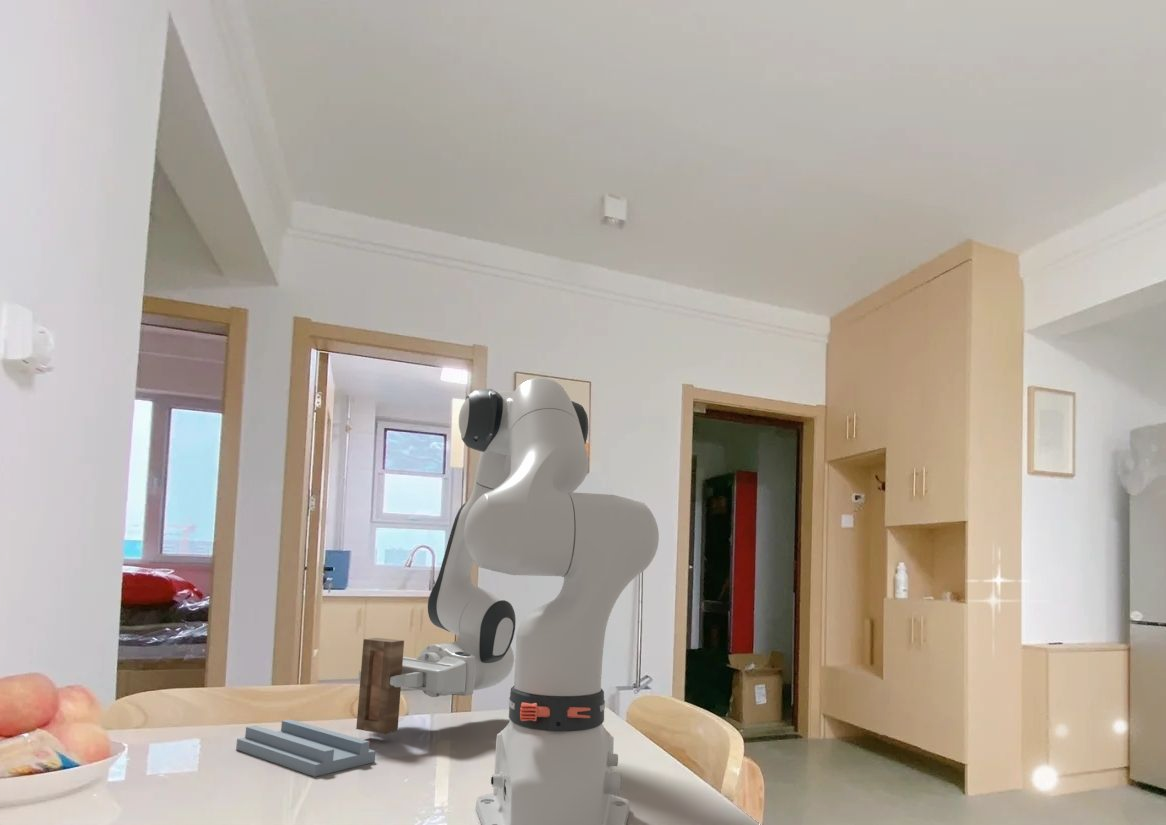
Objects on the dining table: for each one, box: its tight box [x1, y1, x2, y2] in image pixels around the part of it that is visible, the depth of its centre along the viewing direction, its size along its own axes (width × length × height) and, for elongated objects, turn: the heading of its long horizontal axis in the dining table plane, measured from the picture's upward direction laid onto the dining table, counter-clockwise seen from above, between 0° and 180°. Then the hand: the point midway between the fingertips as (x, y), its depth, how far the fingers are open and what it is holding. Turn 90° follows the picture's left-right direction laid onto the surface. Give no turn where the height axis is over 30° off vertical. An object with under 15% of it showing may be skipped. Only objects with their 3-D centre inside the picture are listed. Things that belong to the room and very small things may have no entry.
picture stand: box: [235, 719, 376, 778], centre depth 111 cm, size 20×10×3 cm, turn 53°
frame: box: [355, 637, 405, 735], centre depth 123 cm, size 6×3×14 cm, turn 63°
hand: (376, 678), depth 122 cm, fingers closed on frame, 6 cm apart
